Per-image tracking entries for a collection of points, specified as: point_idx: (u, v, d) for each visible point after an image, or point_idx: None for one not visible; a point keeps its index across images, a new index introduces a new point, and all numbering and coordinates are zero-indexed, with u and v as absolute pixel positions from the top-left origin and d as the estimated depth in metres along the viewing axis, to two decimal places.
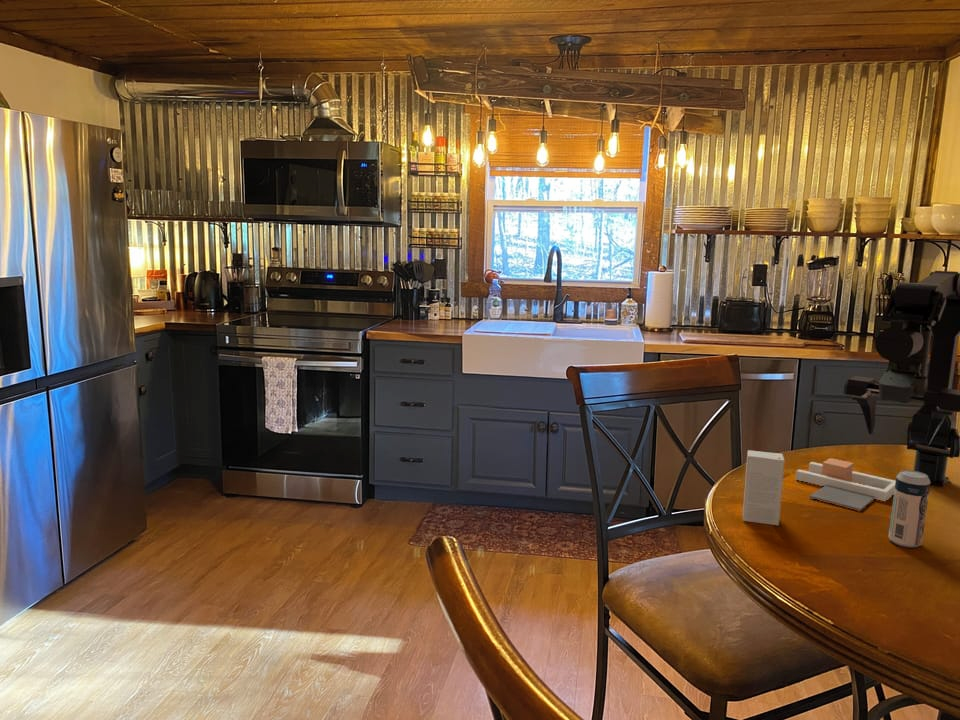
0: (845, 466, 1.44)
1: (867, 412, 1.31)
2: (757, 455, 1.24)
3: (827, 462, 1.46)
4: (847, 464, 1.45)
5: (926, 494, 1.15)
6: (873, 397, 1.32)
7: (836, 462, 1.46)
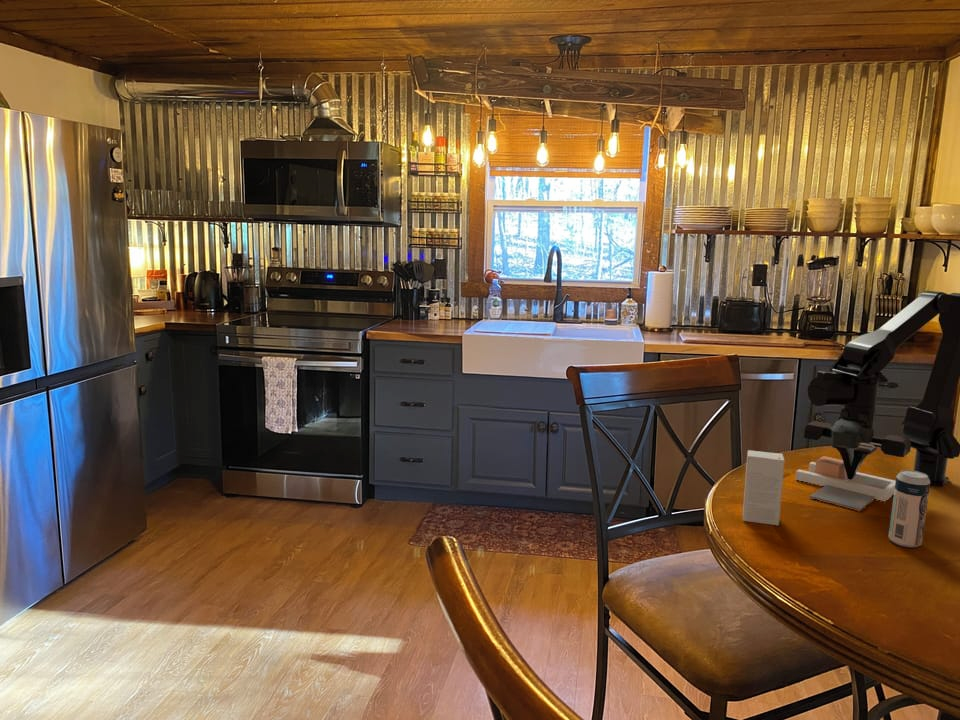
0: (838, 464, 1.45)
1: (846, 458, 1.44)
2: (757, 455, 1.24)
3: (820, 460, 1.47)
4: (840, 462, 1.46)
5: (926, 494, 1.15)
6: None
7: (829, 460, 1.47)
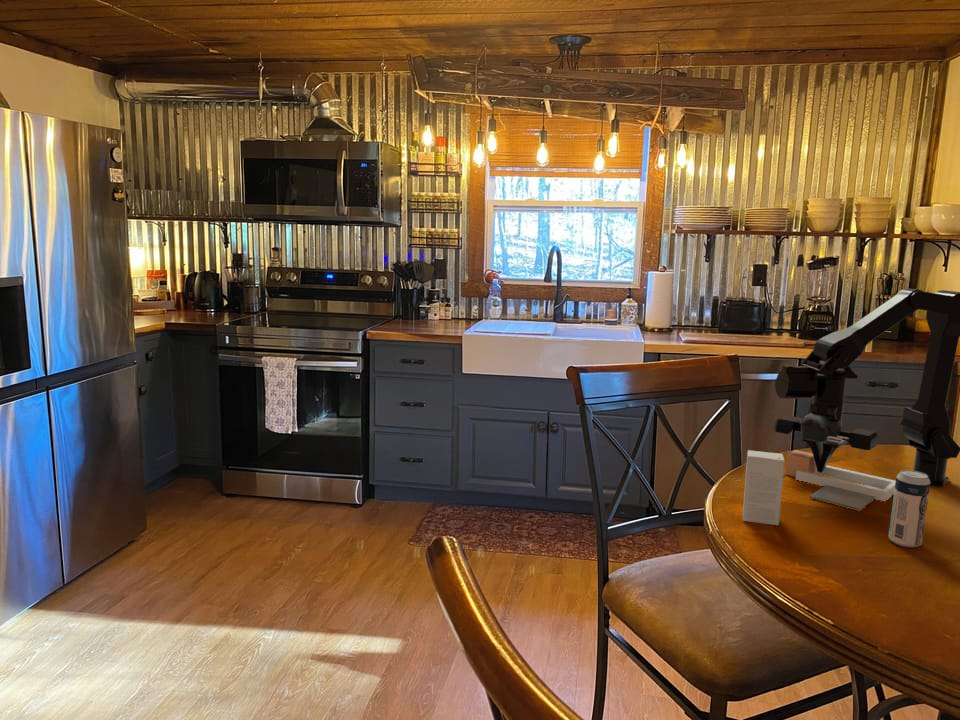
0: (808, 457, 1.49)
1: (815, 452, 1.48)
2: (757, 455, 1.24)
3: (791, 454, 1.51)
4: (811, 455, 1.50)
5: (926, 494, 1.15)
6: None
7: (799, 454, 1.51)
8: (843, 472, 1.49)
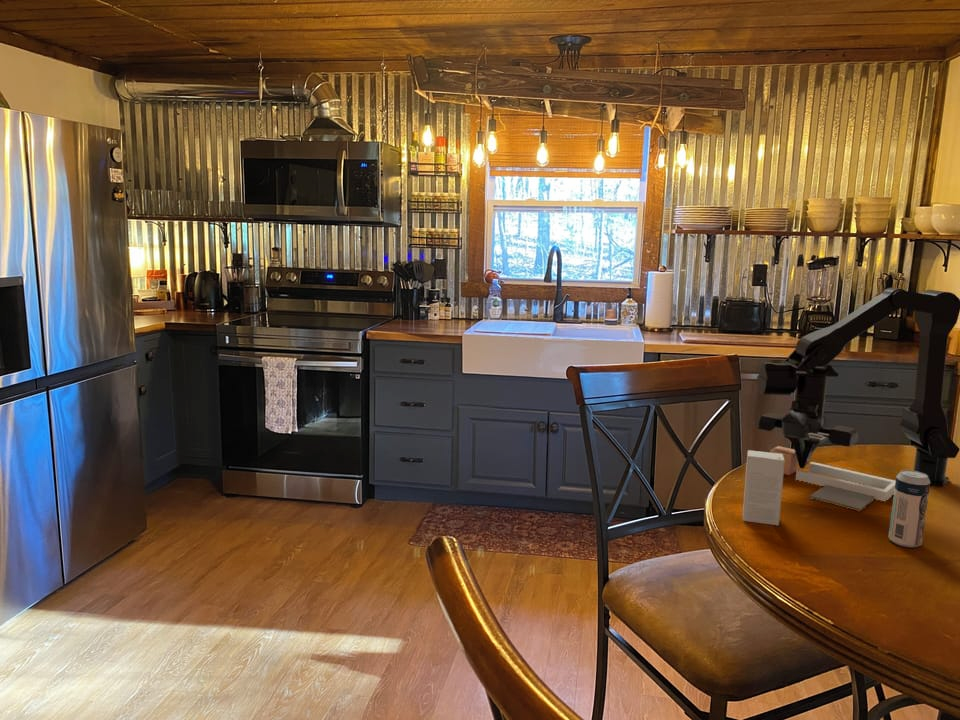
0: (790, 453, 1.51)
1: (797, 448, 1.50)
2: (757, 455, 1.24)
3: (774, 450, 1.54)
4: (793, 451, 1.53)
5: (926, 494, 1.15)
6: None
7: (782, 450, 1.54)
8: (843, 472, 1.49)
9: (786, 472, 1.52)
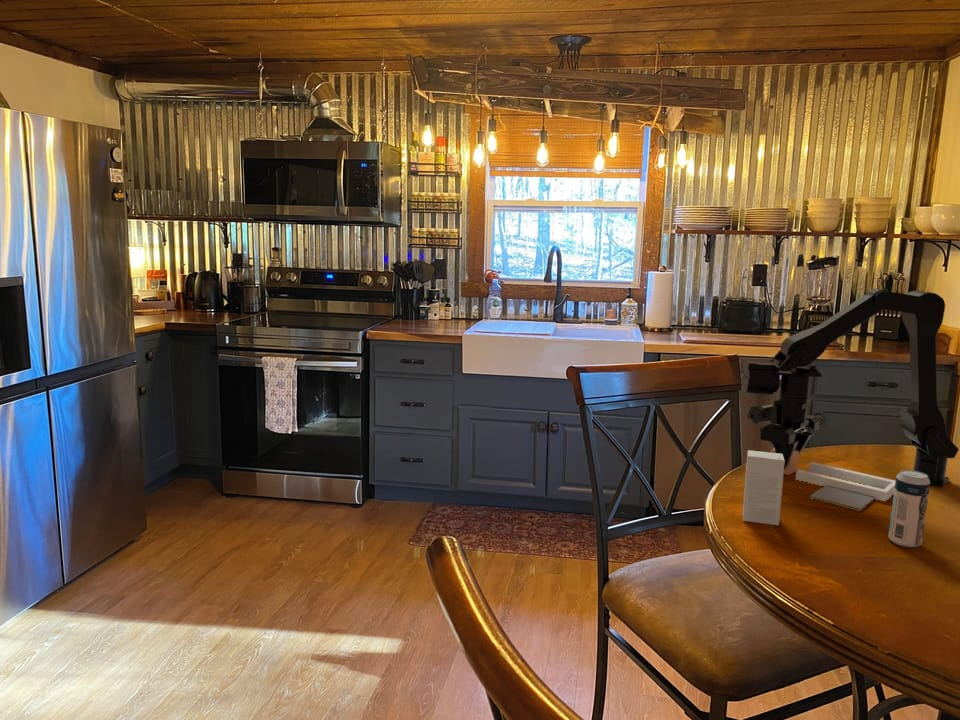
0: None
1: None
2: (757, 455, 1.24)
3: (774, 450, 1.54)
4: None
5: (926, 494, 1.15)
6: (799, 434, 1.54)
7: None
8: (843, 472, 1.49)
9: (786, 472, 1.52)
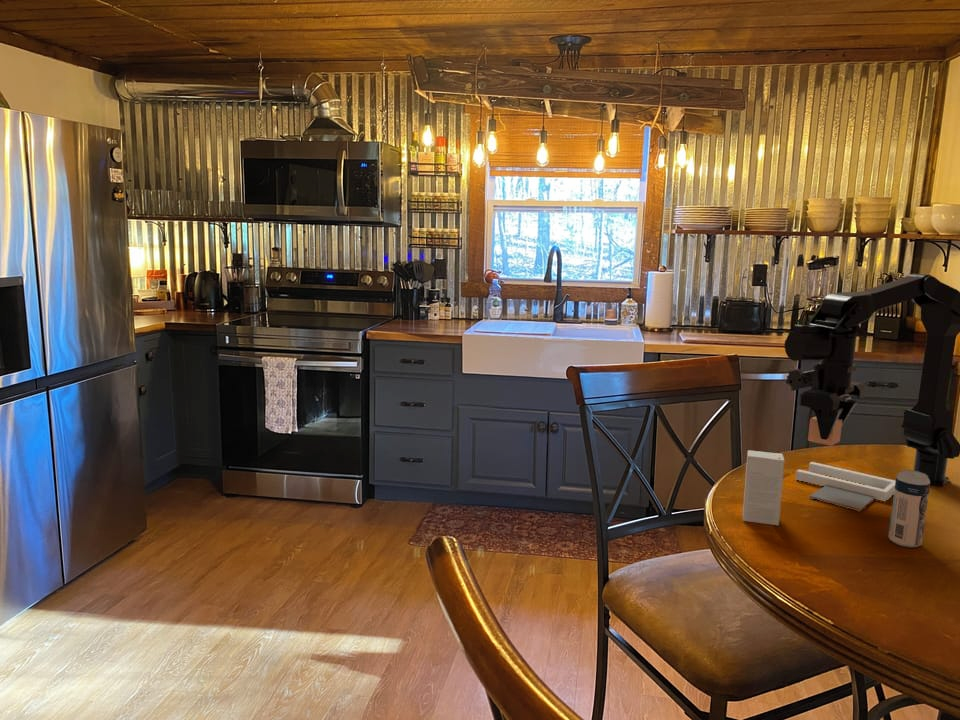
0: None
1: None
2: (757, 455, 1.24)
3: (814, 418, 1.41)
4: None
5: (926, 494, 1.15)
6: (843, 402, 1.41)
7: None
8: (843, 472, 1.49)
9: (828, 442, 1.39)
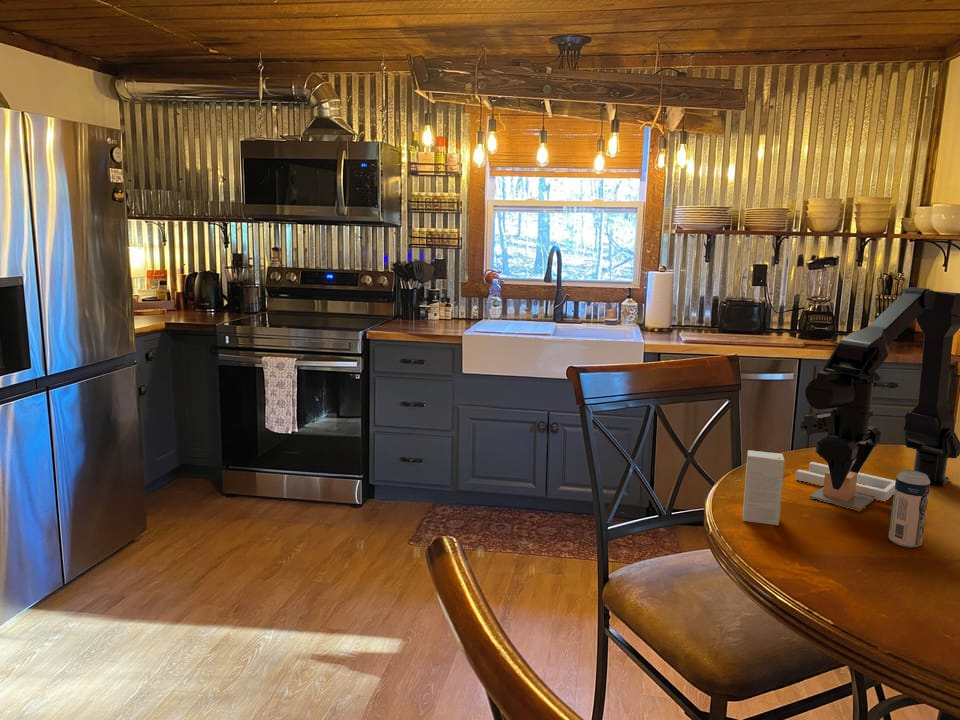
0: (849, 477, 1.35)
1: None
2: (757, 455, 1.24)
3: (829, 472, 1.37)
4: (851, 474, 1.37)
5: (926, 494, 1.15)
6: (862, 445, 1.39)
7: None
8: None
9: (844, 498, 1.35)
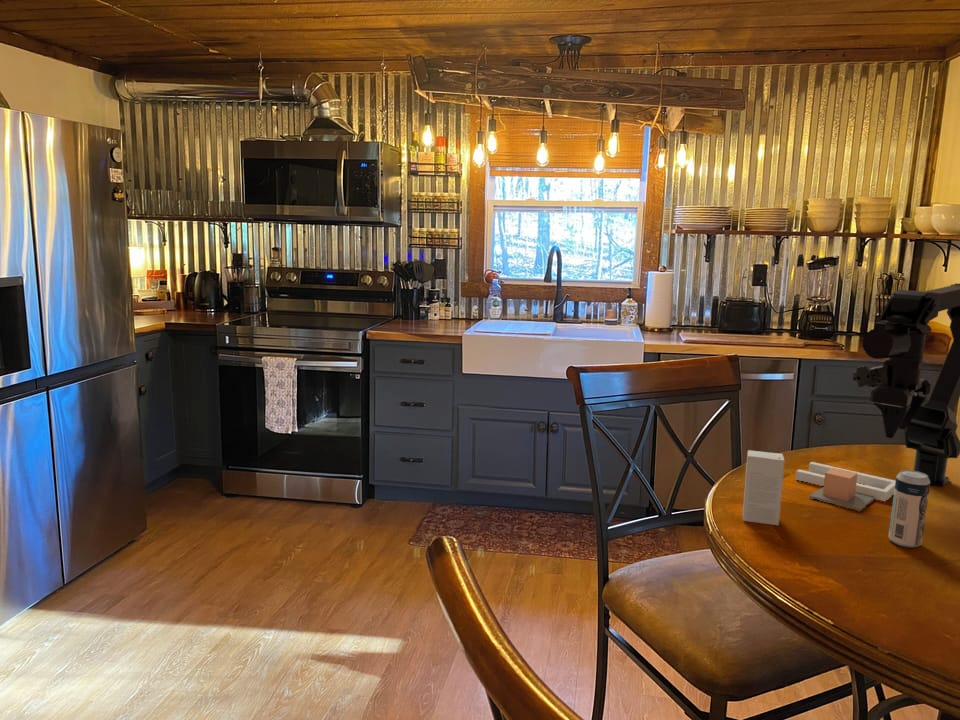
0: (849, 477, 1.35)
1: None
2: (757, 455, 1.24)
3: (829, 472, 1.37)
4: (851, 474, 1.37)
5: (926, 494, 1.15)
6: (912, 397, 1.43)
7: (839, 473, 1.37)
8: None
9: (844, 498, 1.35)
